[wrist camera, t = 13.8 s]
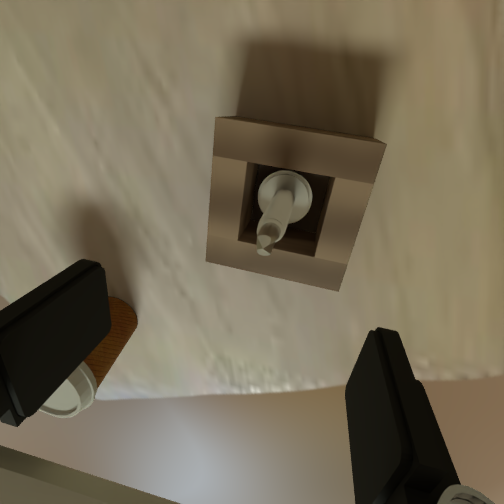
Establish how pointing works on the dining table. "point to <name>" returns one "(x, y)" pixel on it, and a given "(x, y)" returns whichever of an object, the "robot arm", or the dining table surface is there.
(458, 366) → the dining table surface
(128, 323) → the disposable coffee cup
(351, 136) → the socket block
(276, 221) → the screw
